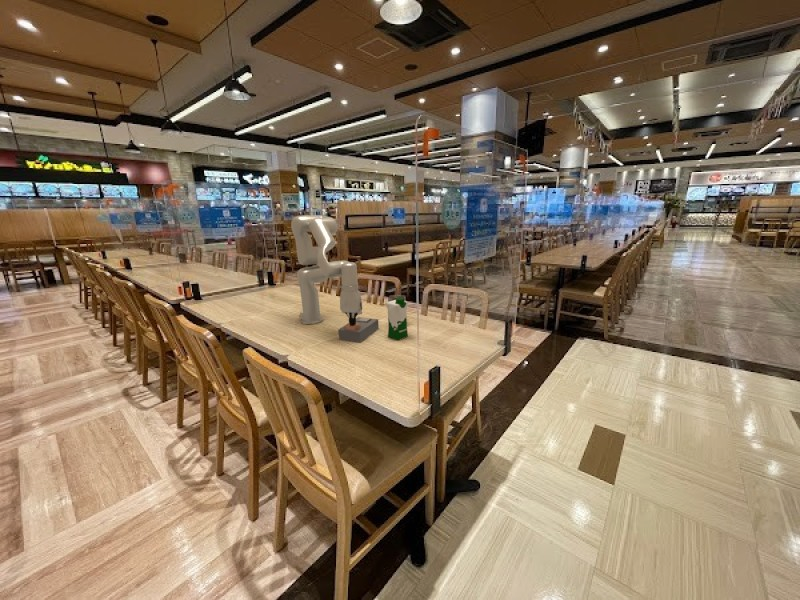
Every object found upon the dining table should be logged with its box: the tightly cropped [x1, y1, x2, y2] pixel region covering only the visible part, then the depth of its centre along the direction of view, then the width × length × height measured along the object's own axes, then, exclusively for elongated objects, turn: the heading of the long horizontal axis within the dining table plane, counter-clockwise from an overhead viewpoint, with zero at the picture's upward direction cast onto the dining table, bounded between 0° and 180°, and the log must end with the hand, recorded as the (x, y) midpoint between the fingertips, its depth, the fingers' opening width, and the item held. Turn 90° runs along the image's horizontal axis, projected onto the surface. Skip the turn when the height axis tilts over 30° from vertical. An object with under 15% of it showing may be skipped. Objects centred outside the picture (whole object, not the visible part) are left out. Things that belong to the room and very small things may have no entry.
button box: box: [337, 316, 380, 344], centre depth 163 cm, size 12×20×6 cm, turn 158°
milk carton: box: [385, 298, 409, 341], centre depth 156 cm, size 9×9×20 cm
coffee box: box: [387, 294, 407, 302], centre depth 174 cm, size 9×6×16 cm
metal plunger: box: [358, 317, 372, 323], centre depth 168 cm, size 5×5×5 cm
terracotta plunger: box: [346, 323, 360, 331], centre depth 157 cm, size 5×5×5 cm
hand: (352, 324), depth 156 cm, fingers closed
